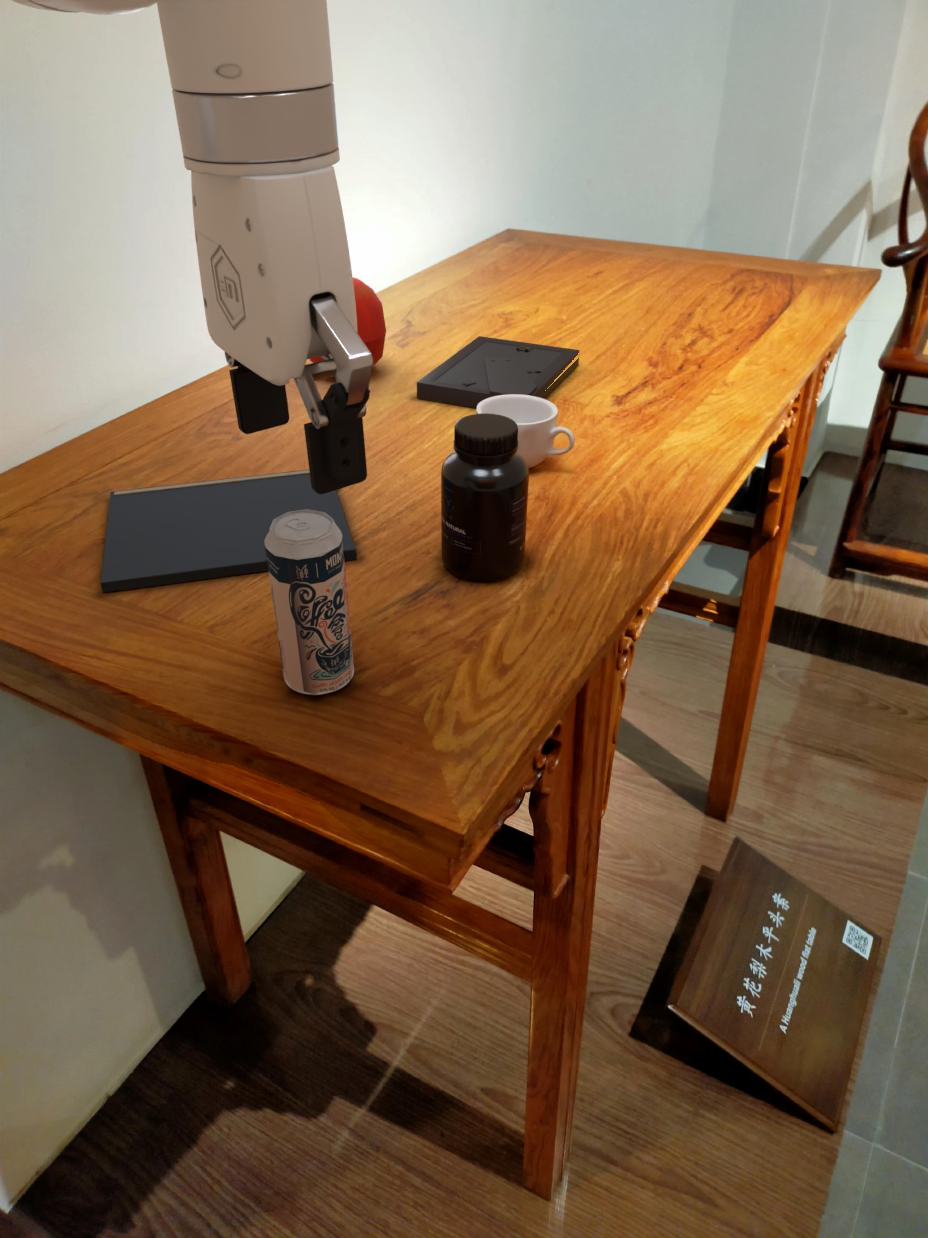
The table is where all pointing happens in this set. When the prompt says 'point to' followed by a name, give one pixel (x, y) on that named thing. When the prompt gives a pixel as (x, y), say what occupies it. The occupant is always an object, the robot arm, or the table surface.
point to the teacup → (530, 424)
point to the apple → (368, 320)
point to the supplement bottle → (484, 499)
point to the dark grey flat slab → (204, 528)
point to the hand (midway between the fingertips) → (300, 455)
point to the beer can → (310, 601)
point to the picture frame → (496, 372)
